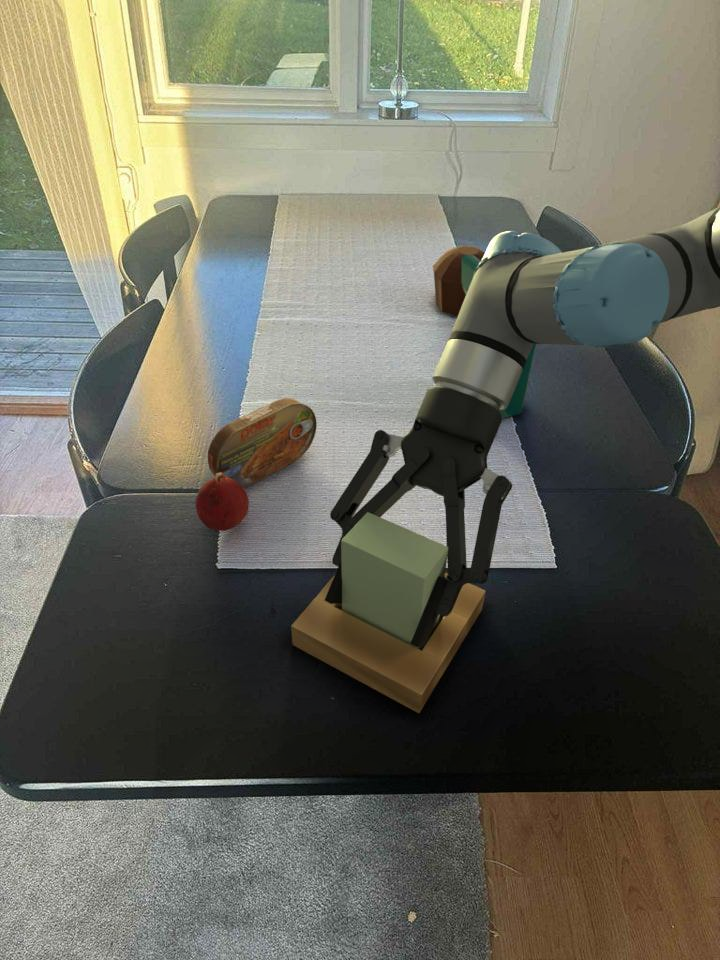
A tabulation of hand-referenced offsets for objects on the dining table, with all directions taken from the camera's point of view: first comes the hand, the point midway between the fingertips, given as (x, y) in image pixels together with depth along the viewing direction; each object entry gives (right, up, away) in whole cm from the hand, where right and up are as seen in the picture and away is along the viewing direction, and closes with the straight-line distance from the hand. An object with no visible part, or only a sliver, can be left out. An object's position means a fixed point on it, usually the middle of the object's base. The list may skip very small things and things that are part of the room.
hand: (374, 622), depth 65 cm
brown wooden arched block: (+17, +44, +59) cm, 75 cm away
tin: (-13, +15, +24) cm, 31 cm away
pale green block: (+2, -2, +5) cm, 5 cm away
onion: (-17, +8, +15) cm, 24 cm away
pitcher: (+16, +24, +35) cm, 46 cm away
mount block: (+2, -1, +5) cm, 5 cm away
